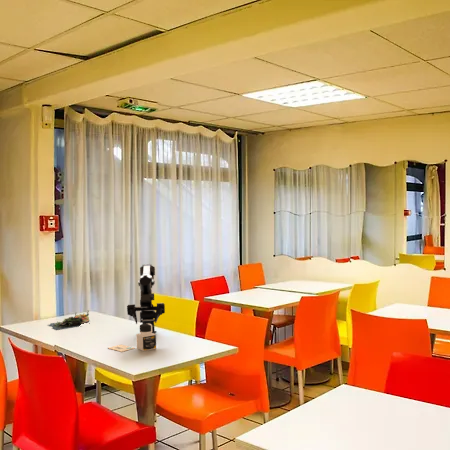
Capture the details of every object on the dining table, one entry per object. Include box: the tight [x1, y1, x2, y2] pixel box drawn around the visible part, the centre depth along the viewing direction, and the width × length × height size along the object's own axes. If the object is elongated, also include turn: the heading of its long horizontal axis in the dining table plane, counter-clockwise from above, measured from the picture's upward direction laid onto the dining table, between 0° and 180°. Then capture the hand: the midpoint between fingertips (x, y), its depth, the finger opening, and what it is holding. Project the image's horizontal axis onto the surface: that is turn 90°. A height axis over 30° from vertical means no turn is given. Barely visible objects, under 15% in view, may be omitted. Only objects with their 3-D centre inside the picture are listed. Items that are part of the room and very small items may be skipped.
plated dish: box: [47, 311, 91, 331], centre depth 316 cm, size 35×28×7 cm
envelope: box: [107, 344, 136, 353], centre depth 255 cm, size 11×8×1 cm
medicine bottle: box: [135, 323, 157, 352], centre depth 253 cm, size 7×7×12 cm
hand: (146, 323), depth 257 cm, fingers open, 9 cm apart
